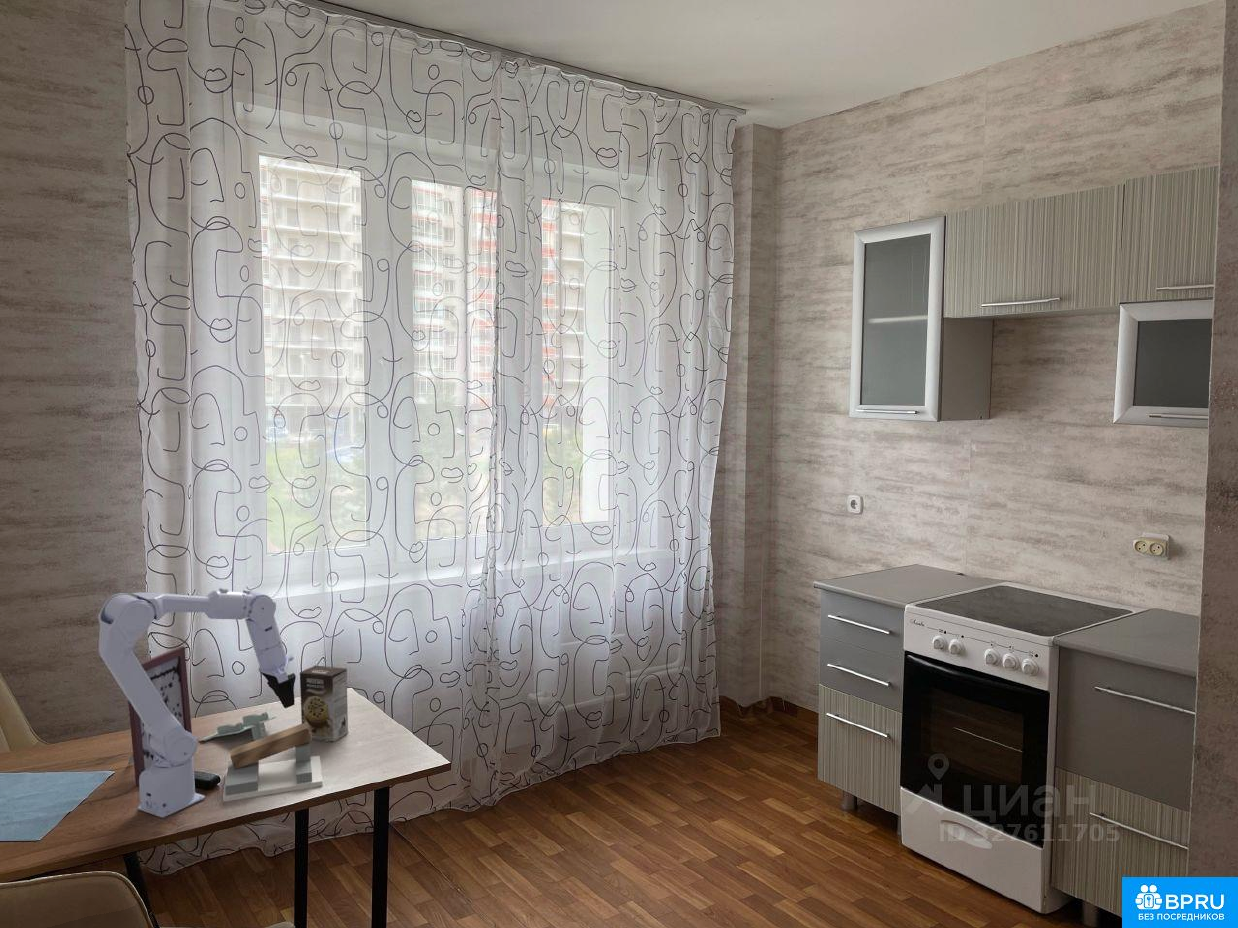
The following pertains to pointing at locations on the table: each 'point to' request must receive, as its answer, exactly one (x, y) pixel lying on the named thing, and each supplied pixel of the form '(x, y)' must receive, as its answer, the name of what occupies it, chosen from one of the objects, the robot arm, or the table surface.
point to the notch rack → (273, 776)
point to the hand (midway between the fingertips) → (285, 699)
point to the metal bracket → (244, 727)
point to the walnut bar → (270, 745)
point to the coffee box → (324, 701)
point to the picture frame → (174, 691)
